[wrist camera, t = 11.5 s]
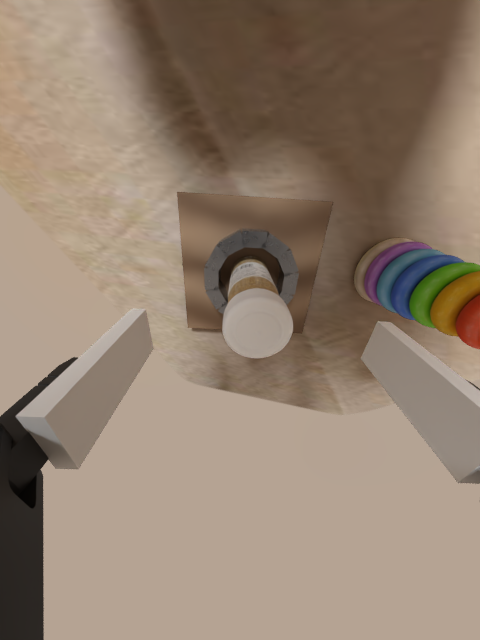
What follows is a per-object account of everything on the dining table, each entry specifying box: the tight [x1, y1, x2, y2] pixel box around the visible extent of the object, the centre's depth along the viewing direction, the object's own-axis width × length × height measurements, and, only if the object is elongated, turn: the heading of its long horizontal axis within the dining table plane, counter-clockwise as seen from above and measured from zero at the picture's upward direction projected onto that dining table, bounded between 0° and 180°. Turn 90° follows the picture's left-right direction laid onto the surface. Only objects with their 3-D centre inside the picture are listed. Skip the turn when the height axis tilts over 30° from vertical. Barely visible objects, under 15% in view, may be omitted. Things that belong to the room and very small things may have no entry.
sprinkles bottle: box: [222, 256, 293, 359], centre depth 18 cm, size 5×5×14 cm
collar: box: [204, 228, 299, 314], centre depth 23 cm, size 10×10×3 cm
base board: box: [177, 192, 333, 333], centre depth 25 cm, size 16×16×2 cm
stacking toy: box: [354, 238, 480, 349], centre depth 17 cm, size 8×8×19 cm
